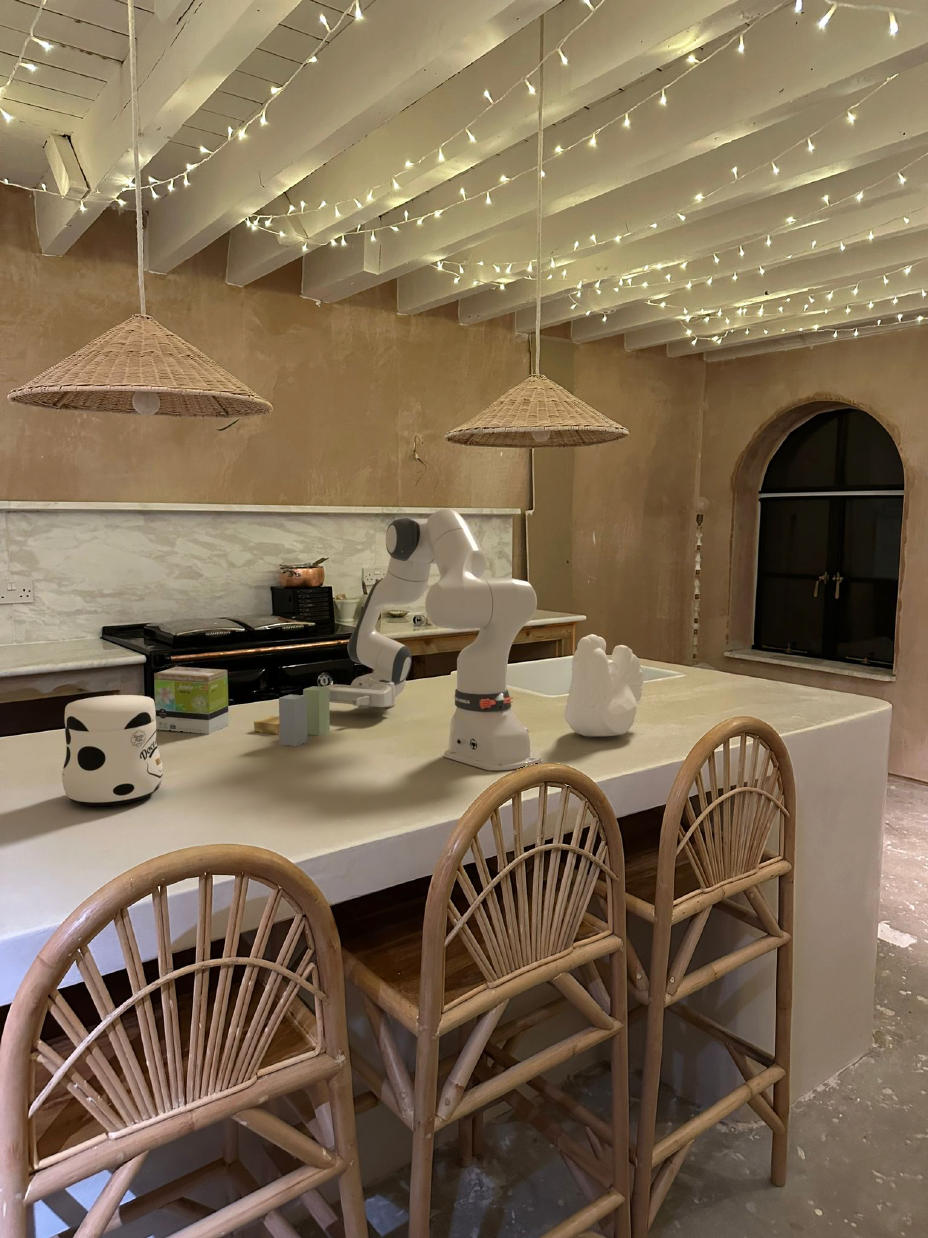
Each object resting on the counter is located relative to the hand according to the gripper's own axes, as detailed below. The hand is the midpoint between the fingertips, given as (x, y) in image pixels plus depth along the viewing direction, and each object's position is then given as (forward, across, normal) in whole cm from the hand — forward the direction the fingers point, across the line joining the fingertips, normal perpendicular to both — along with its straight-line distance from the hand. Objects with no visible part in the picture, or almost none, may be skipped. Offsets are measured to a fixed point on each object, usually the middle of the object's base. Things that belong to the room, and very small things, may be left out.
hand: (339, 701), depth 219 cm
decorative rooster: (-18, +66, +6) cm, 69 cm away
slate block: (+21, +1, +6) cm, 22 cm away
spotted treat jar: (+68, -6, +6) cm, 69 cm away
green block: (+10, 0, +6) cm, 12 cm away
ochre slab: (+12, -11, +6) cm, 18 cm away
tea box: (+19, -31, +6) cm, 37 cm away
